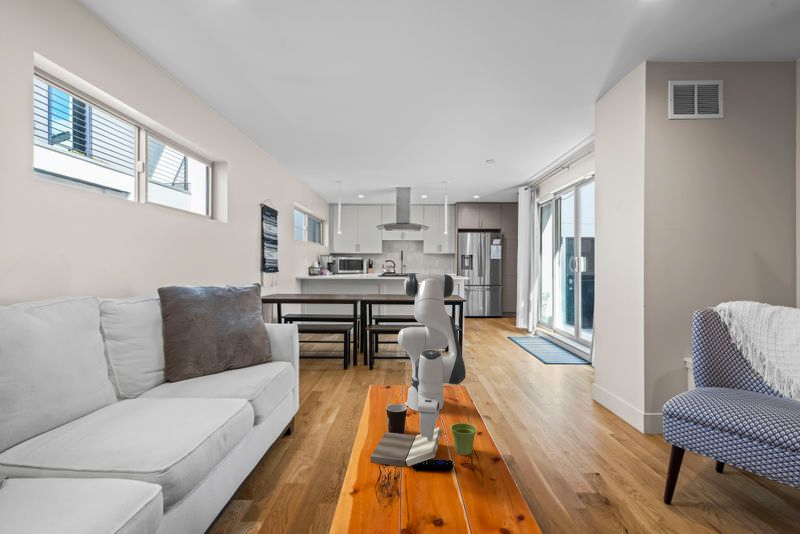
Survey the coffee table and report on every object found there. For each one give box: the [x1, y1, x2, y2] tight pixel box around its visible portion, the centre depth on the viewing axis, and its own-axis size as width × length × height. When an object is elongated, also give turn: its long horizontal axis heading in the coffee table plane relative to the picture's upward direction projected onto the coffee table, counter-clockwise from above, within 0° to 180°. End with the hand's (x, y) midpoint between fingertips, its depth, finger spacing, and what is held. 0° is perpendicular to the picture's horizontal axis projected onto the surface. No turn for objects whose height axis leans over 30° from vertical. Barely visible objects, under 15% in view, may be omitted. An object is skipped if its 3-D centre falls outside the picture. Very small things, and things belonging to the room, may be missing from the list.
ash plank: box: [406, 426, 443, 467], centre depth 133 cm, size 20×10×2 cm, turn 167°
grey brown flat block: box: [369, 431, 416, 467], centre depth 135 cm, size 20×12×2 cm, turn 167°
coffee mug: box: [385, 403, 408, 434], centre depth 152 cm, size 12×9×10 cm
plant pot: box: [450, 422, 478, 456], centre depth 135 cm, size 9×9×9 cm
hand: (430, 439), depth 127 cm, fingers closed
